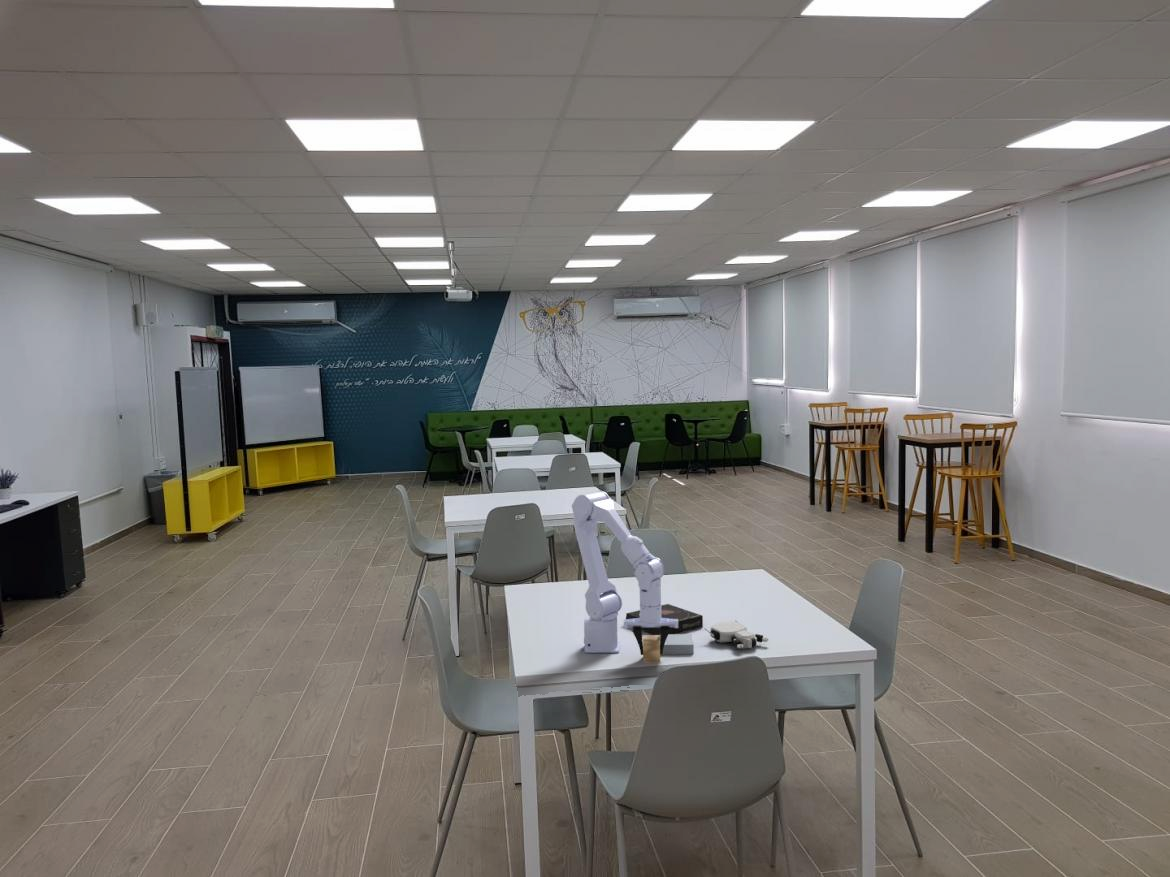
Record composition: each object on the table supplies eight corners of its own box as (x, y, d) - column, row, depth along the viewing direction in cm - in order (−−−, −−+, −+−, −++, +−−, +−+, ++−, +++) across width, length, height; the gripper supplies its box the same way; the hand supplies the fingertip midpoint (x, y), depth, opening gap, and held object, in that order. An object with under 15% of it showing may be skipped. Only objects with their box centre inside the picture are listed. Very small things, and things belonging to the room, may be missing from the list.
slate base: (660, 655, 222) (660, 644, 221) (660, 644, 231) (659, 634, 230) (693, 655, 221) (693, 644, 221) (691, 644, 230) (691, 634, 230)
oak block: (643, 662, 215) (642, 640, 215) (643, 656, 220) (642, 635, 219) (660, 662, 215) (659, 640, 215) (659, 656, 219) (659, 635, 219)
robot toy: (771, 649, 226) (733, 632, 238) (771, 634, 225) (734, 617, 238) (738, 658, 219) (702, 640, 232) (739, 642, 219) (702, 625, 231)
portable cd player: (666, 615, 259) (666, 603, 258) (702, 628, 244) (702, 615, 244) (625, 625, 250) (625, 612, 249) (660, 639, 235) (660, 625, 235)
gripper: (623, 608, 213) (624, 658, 214) (678, 608, 212) (679, 658, 213) (623, 601, 220) (624, 649, 221) (677, 600, 219) (678, 649, 220)
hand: (651, 653), depth 217 cm, fingers closed on oak block, 4 cm apart
